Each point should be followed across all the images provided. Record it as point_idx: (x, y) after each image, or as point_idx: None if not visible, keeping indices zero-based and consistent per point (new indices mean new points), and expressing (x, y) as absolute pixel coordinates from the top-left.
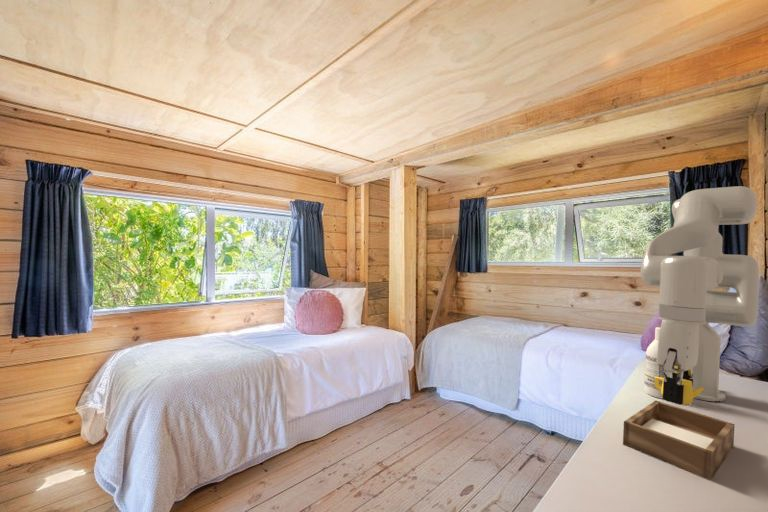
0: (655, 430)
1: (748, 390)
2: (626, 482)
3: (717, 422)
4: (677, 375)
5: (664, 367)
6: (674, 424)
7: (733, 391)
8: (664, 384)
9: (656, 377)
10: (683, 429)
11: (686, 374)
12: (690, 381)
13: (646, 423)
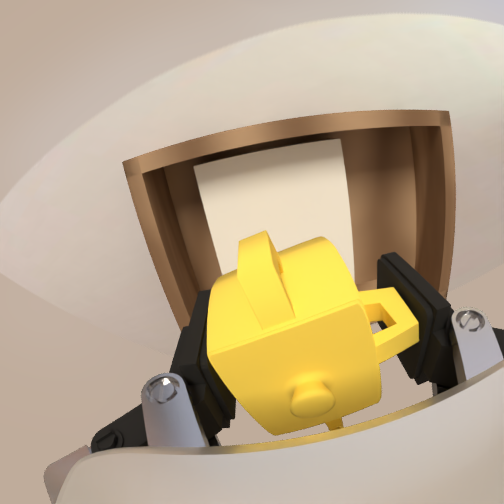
0: (246, 194)
1: None
2: (48, 258)
3: (438, 272)
4: (445, 322)
5: (46, 479)
6: (412, 166)
7: None
8: (186, 351)
9: (250, 283)
10: (348, 227)
11: (439, 378)
12: (364, 405)
13: (273, 150)
